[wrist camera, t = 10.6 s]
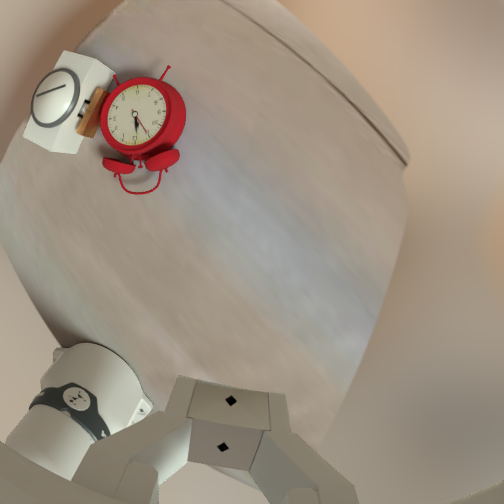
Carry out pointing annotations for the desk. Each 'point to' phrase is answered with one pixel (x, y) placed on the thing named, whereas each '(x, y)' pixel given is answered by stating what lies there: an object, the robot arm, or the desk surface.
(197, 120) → the desk surface
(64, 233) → the desk surface
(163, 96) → the alarm clock
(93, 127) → the wooden handled metal scraper
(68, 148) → the dial gauge
